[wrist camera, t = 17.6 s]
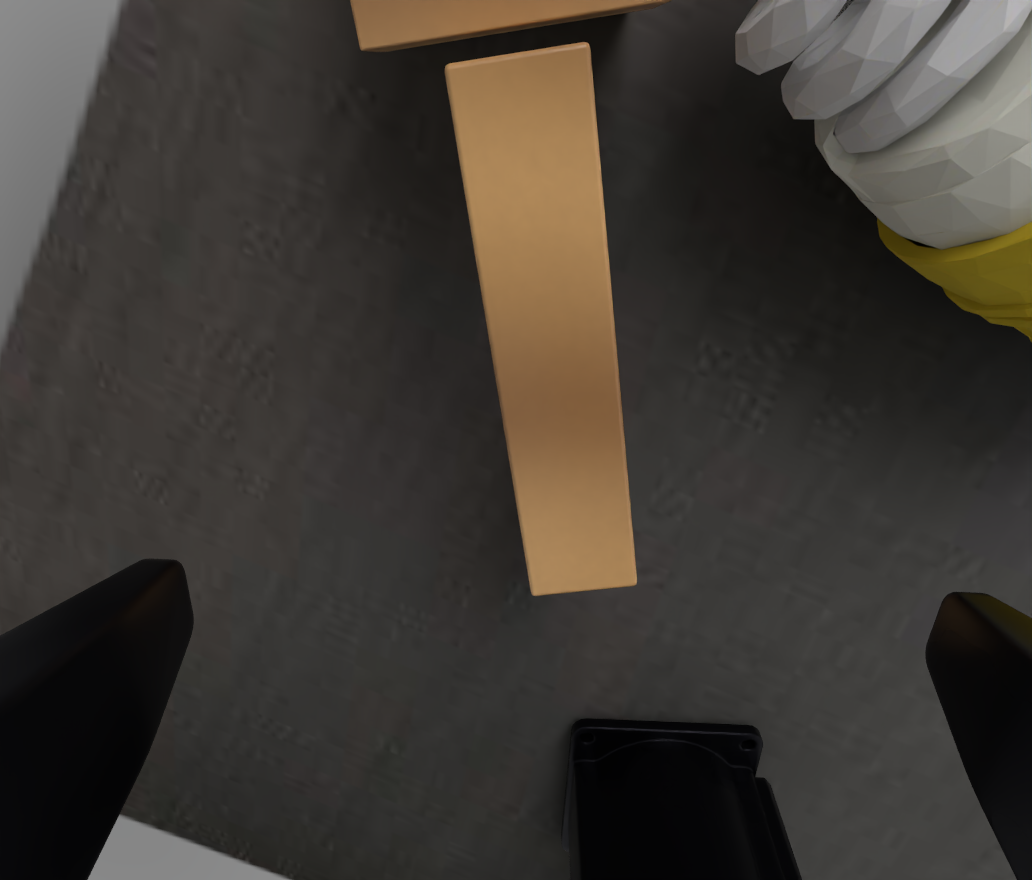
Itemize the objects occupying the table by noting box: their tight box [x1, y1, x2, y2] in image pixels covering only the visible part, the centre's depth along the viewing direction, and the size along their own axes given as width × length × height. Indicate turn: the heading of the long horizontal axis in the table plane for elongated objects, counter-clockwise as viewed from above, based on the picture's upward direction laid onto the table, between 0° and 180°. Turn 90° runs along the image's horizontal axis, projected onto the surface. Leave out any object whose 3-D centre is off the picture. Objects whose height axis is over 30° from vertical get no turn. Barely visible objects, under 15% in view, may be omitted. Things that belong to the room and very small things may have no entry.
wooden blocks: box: [350, 0, 671, 596], centre depth 15 cm, size 15×5×7 cm, turn 8°
